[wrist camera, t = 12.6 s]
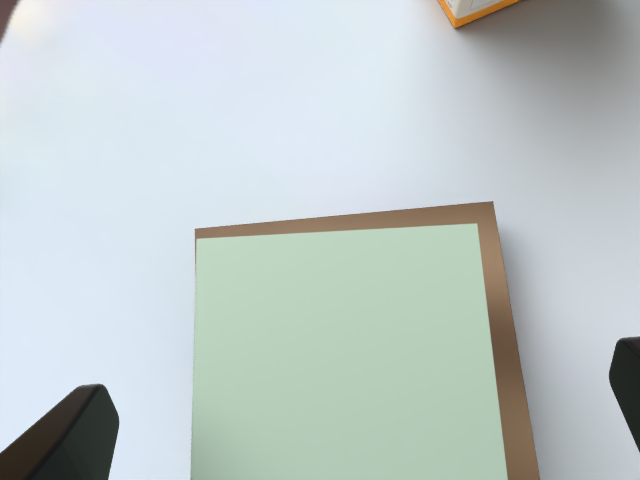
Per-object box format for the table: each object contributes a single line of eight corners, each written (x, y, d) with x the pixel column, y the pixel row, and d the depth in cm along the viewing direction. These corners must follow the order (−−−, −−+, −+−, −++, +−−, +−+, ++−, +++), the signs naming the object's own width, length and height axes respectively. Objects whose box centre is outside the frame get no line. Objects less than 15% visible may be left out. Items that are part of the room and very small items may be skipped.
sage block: (437, 457, 18) (515, 542, 9) (269, 462, 18) (188, 548, 9) (423, 288, 19) (477, 223, 11) (267, 296, 20) (197, 239, 11)
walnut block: (521, 514, 20) (550, 539, 17) (221, 532, 20) (199, 560, 18) (475, 222, 23) (492, 201, 20) (214, 246, 23) (195, 228, 21)
